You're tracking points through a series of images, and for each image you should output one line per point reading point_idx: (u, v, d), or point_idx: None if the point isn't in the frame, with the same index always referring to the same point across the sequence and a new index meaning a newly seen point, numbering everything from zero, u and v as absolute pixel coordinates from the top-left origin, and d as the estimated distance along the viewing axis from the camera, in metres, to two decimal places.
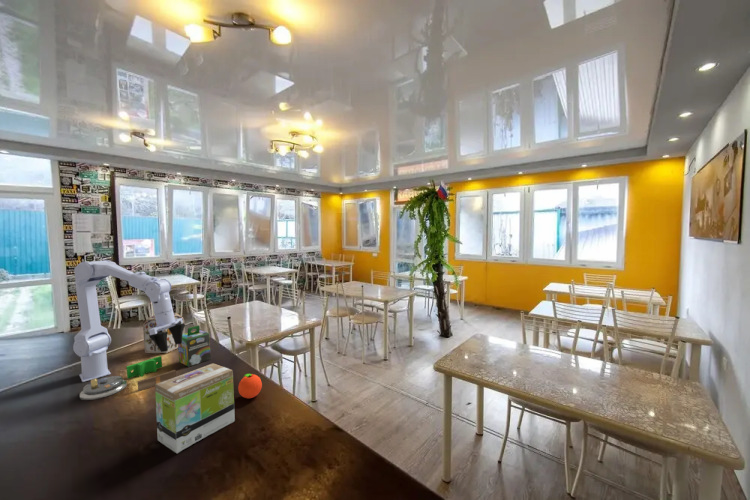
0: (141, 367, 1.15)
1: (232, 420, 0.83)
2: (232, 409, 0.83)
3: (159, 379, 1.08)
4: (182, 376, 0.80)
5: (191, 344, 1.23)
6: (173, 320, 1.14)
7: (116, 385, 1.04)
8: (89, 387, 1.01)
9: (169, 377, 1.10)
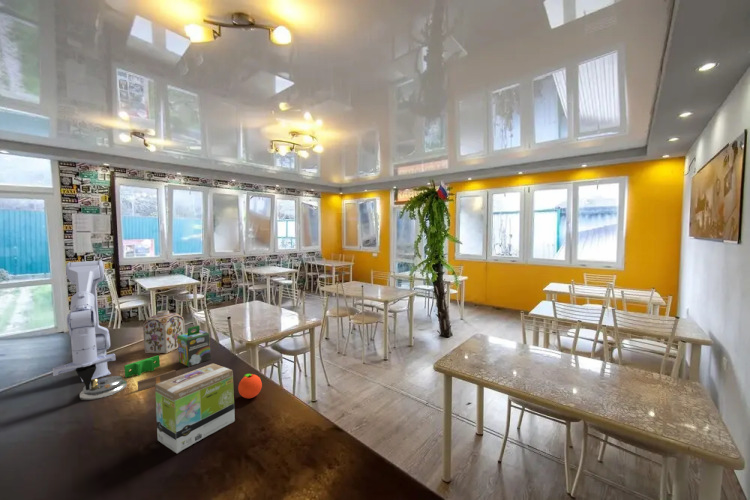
0: (139, 366, 1.16)
1: (232, 420, 0.83)
2: (232, 409, 0.83)
3: (159, 379, 1.08)
4: (182, 376, 0.80)
5: (191, 344, 1.23)
6: (87, 361, 0.97)
7: (116, 385, 1.04)
8: None
9: (169, 377, 1.10)
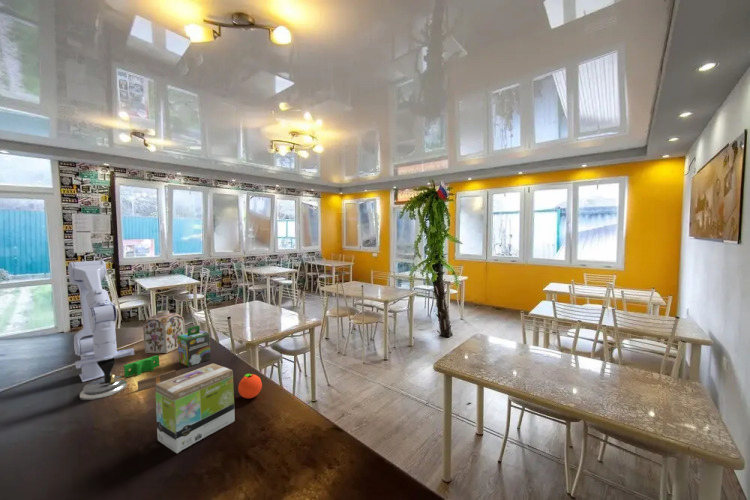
0: (138, 366, 1.16)
1: (232, 420, 0.83)
2: (232, 409, 0.83)
3: (159, 379, 1.08)
4: (182, 376, 0.80)
5: (191, 344, 1.23)
6: (107, 354, 1.00)
7: None
8: (101, 386, 1.02)
9: (169, 377, 1.10)
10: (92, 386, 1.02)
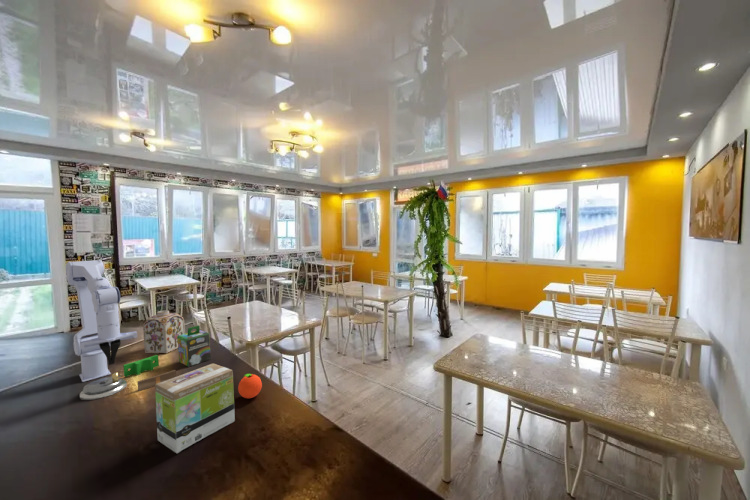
0: (138, 366, 1.16)
1: (232, 420, 0.83)
2: (232, 409, 0.83)
3: (159, 379, 1.08)
4: (182, 376, 0.80)
5: (191, 344, 1.23)
6: (110, 336, 1.02)
7: None
8: (106, 385, 1.02)
9: (169, 377, 1.10)
10: (93, 386, 1.02)
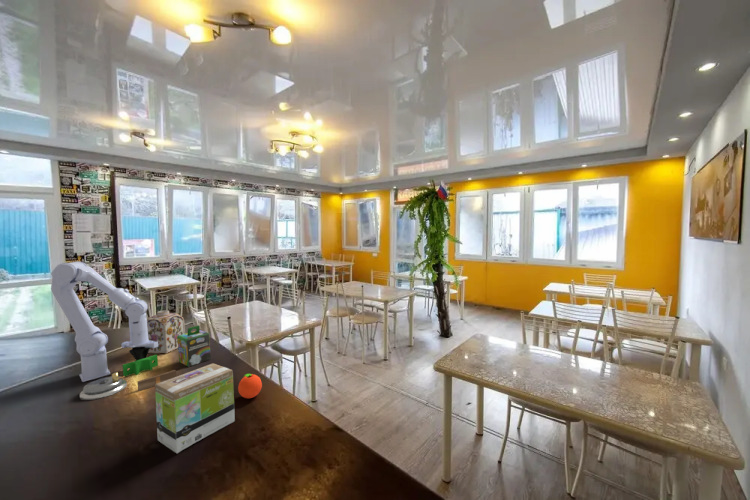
0: (137, 365, 1.17)
1: (232, 420, 0.83)
2: (232, 409, 0.83)
3: (159, 379, 1.08)
4: (182, 376, 0.80)
5: (191, 344, 1.23)
6: (133, 343, 1.19)
7: None
8: (106, 385, 1.02)
9: (169, 377, 1.10)
10: (93, 386, 1.02)
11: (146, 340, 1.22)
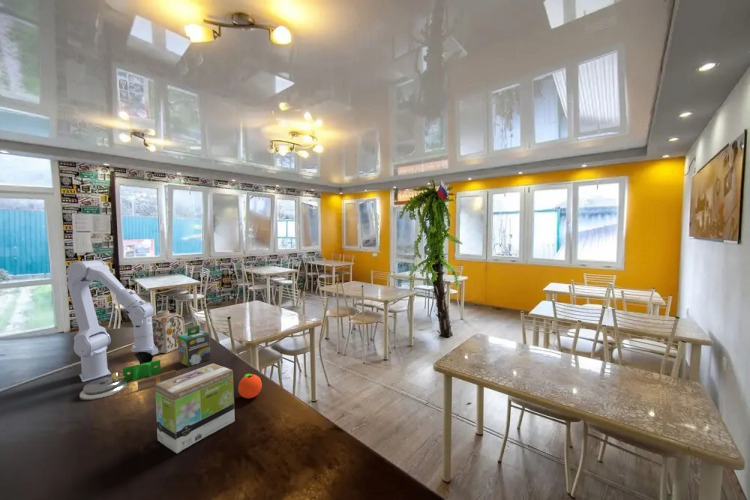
0: (134, 371, 1.11)
1: (232, 420, 0.83)
2: (232, 409, 0.83)
3: (159, 379, 1.08)
4: (182, 376, 0.80)
5: (191, 344, 1.23)
6: (136, 347, 1.15)
7: None
8: (106, 385, 1.02)
9: (169, 377, 1.10)
10: (93, 386, 1.02)
11: (149, 345, 1.16)
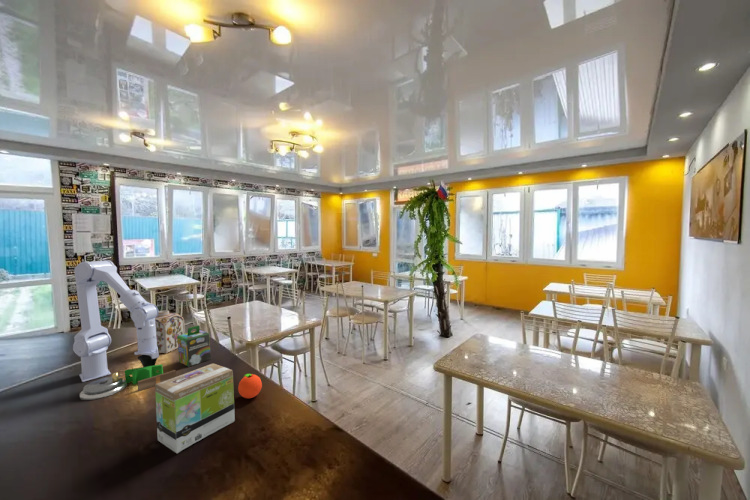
0: (133, 374, 1.08)
1: (232, 420, 0.83)
2: (232, 409, 0.83)
3: (159, 379, 1.08)
4: (182, 376, 0.80)
5: (191, 344, 1.23)
6: (138, 350, 1.12)
7: None
8: (106, 385, 1.02)
9: (169, 377, 1.10)
10: (93, 386, 1.02)
11: (151, 348, 1.13)
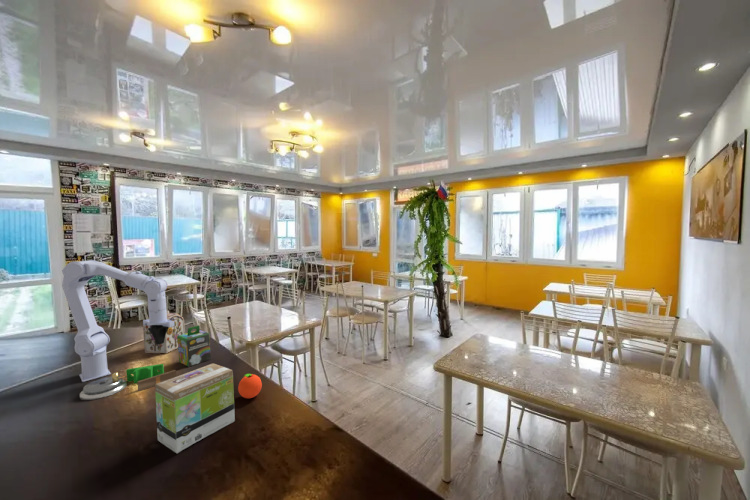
0: (134, 374, 1.09)
1: (232, 420, 0.83)
2: (232, 409, 0.83)
3: (159, 379, 1.08)
4: (182, 376, 0.80)
5: (191, 344, 1.23)
6: (151, 321, 1.18)
7: None
8: (106, 385, 1.02)
9: (169, 377, 1.10)
10: (93, 386, 1.02)
11: (164, 319, 1.20)
